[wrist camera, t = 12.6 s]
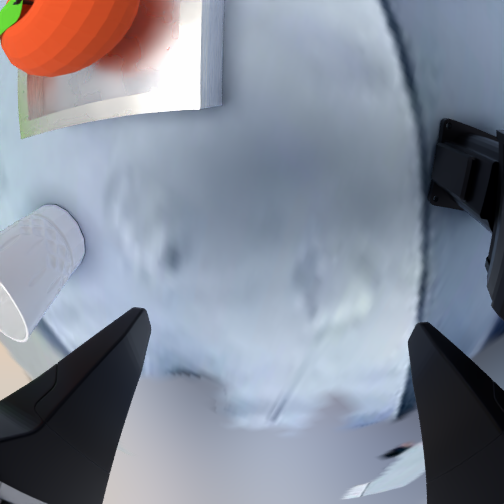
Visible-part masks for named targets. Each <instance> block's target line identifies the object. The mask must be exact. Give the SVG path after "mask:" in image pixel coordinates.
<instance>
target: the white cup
mask: <svg viewBox="0 0 504 504" xmlns="http://www.w3.org/2000/svg"><path fill="white" fill-rule="evenodd" d="M84 254H85V246H84V238H83V235H82V233H81V231H80V228H79V226H78V224H77V222H76V221H75V220H74V219H73V218H72V216H71V215H70V214H69V213H68V212H67V211H66V210H64V209H62V208H61V207H59V206H57V205H43V206H42V207H40V208H38V209H37V210H35V211H34V212H32V213H31V214H29V215H28V216H25V217H23V218H21V219H19V220H17V221H16V222H14V223H13V224H11V225H10V226H8V227H6V228H5V229H3V230H2V231H0V331H1V332H2V333H3V334H5V335H6V336H7V337H9V338H11V339H13V340H15V341H18V342H25V341H27V340H28V338H29V337H30V335H31V333H32V332H33V330H34V329H35V327H36V326H37V324H38V323H39V321H40V320H41V318H42V317H43V315H44V314H45V312H46V311H47V310H48V308H49V307H50V305H51V304H52V303H53V301H54V300H55V298H56V297H57V295H58V294H59V292H60V291H61V289H62V288H63V287H64V286H65V284H66V283H67V281H68V279H69V278H70V276H71V275H72V273H73V272H74V271H75V270H76V268H77V267H78V266H79V265H80V263H81V261H82V259H83V256H84Z"/></svg>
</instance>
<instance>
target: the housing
mask: <svg viewBox="0 0 504 504" xmlns="http://www.w3.org/2000/svg"><path fill="white" fill-rule="evenodd" d="M224 1H225V0H140V3H139V7H138V12H137V14H136V17H135V19H134V21H133V23H132V25H131V27H130V29H129V30H128V31H127V33H126V34H125V36H124V37H123V38H122V40H121V41H120V42H119V43H118V44H117V45H116V46H115V47H114V48H113V49H112V50H111V51H110V52H109V53H107V54H106V55H105V56H103V57H102V58H100V59H99V60H98V61H96V62H95V63H93V64H91V65H90V66H88V67H86V68H83V69H81V70H79V71H77V72H74V73H70V74H65V75H60V76H55V77H45V76H37V75H30V74H27V73H26V72H24V71H22V70H20V69H19V68H18V109H19V123H20V133H21V139H24V138H27V137H30V136H34V135H37V134H41V133H44V132H48V131H52V130H56V129H60V128H64V127H68V126H73V125H77V124H82V123H87V122H92V121H97V120H103V119H109V118H115V117H121V116H128V115H136V114H144V113H153V112H163V111H175V110H190V109H203V108H209V107H215V106H222V67H223V27H224Z"/></svg>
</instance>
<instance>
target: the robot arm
mask: <svg viewBox="0 0 504 504" xmlns="http://www.w3.org/2000/svg"><path fill="white" fill-rule="evenodd" d="M447 123H448V124H449V127H448V128H447V127H446V124H447ZM496 131H497V137H495V136H493V135H490V134H488V133H486V132H483V131H481V130H478V129H476V128H473V127H470V126H468V125H465V124H462V123H460V122H457V121H454V120H451V119H447V118H444V119H443V120H442V121H441V126H440V134H439V141H438V145H437V147H436V154H435V159H434V165H433V170H432V175H431V178H432V180H431V185H430V190H429V194H428V201H429V202H430V203H431V204H432V205H435V206H441V207H447V208H453V209H459V210H464V211H466V212H467V213H469V214H470V215H471V216H472V217H473V218H475V219H476V220H477V221H478V222H479V223H481V224H482V225H483V226H484V227H485V228H486V229H487V230H488V231H490V232H491V233H492V239H491V245H490V250H489V255H488V257H487V258H486V263H485V267H486V270H487V272H488V275H487V288H488V291H489V294H490V296H491V299H492V304H491V306H492V308H493V309H494V310H495V312H496V313H497V314H498V316H499V317H500V318H501V319H502V320H504V130H496ZM434 196H436V198H435V200H433V197H434ZM150 334H151V325H150V321H149V318H148V314H147V311H146V310H145V309H144V308H138V307H133V308H132V309H130V310H129V311H127V312H126V313H125V314H123V315H122V316H120V317H119V318H118V319H116V320H115V321H114V322H112V323H111V324H109V325H108V326H107V327H105V328H104V329H103V330H101V331H100V332H98V333H97V334H96V335H94V336H93V337H92V338H90V339H89V340H87V341H86V342H85V343H83V344H82V345H81V346H79V347H78V348H77V349H75V350H74V351H73V352H71V353H70V354H69V355H67V356H66V357H65V358H63V359H62V360H61V361H59V362H58V364H55V365H54V366H53V367H51V368H50V369H49V370H47V371H46V372H44V373H43V374H42V375H40V376H39V377H37V378H36V379H34V380H33V381H31V382H30V383H28V384H27V385H25V386H24V387H22V388H20V389H19V390H17V391H16V392H14V393H12V394H11V395H9V396H7V397H6V398H4V399H2V400H1V401H0V504H102V503H103V499H104V494H105V491H106V486H107V482H108V479H109V475H110V474H109V473H110V471H111V467H112V463H113V460H114V456H115V452H116V449H117V446H118V443H119V439H120V436H121V433H122V429H123V426H124V423H125V420H126V417H127V413H128V410H129V407H130V404H131V401H132V398H133V395H134V392H135V389H136V386H137V383H138V381H139V378H140V375H141V371H142V368H143V363H144V359H145V355H146V350H147V346H148V342H149V338H150ZM408 349H409V356H410V364H411V373H412V381H413V387H414V392H415V397H416V403H417V408H418V414H419V420H420V427H421V434H422V441H423V450H424V459H425V470H426V483H427V484H426V486H427V504H504V391H503V390H502V389H501V388H500V387H499V386H498V385H497V384H496V383H495V382H494V381H493V380H492V379H491V378H490V377H489V376H488V375H487V374H486V373H485V372H483V370H481V369H480V368H479V367H478V366H477V365H476V364H475V363H474V362H473V361H472V360H471V359H470V358H469V357H467V356H466V355H465V354H464V353H463V352H462V351H461V350H460V349H459V348H457V347H456V346H455V345H454V344H453V343H452V342H451V341H450V340H448V339H447V338H446V337H445V336H444V335H443V334H442V333H440V332H439V331H438V330H437V329H436V328H435V327H433V326H432V325H431V324H430V323H428V322H419V323H417V324H416V326H415V328H414V330H413V332H412V334H411V336H410V338H409V340H408Z"/></svg>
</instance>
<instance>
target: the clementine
mask: <svg viewBox="0 0 504 504" xmlns="http://www.w3.org/2000/svg"><path fill="white" fill-rule="evenodd" d="M139 3H140V0H8V1H7V3H6V5H5V6H4V7H3V9H2V10H1V11H0V40H1V45H2V48H3V50H4V52H5V54H6V55H7V57H8V59H9V60H10V62H11V64H13V65H14V66H16V67H17V68H19V69H20V70H22V71H24V72H26V73H27V74H30V75H37V76H45V77H55V76H60V75H65V74H70V73H74V72H77V71H79V70H81V69H83V68H86V67H88V66H90V65H91V64H93V63H95V62H96V61H98V60H99V59H100V58H102V57H103V56H105V55H106V54H107V53H109V52H110V51H111V50H112V49H113V48H114V47H115V46H116V45H117V44H118V43H119V42H120V41H121V40H122V38H123V37H124V36H125V34H126V33H127V31H128V30H129V29H130V27H131V25H132V23H133V21H134V19H135V17H136V14H137V12H138V7H139Z"/></svg>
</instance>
